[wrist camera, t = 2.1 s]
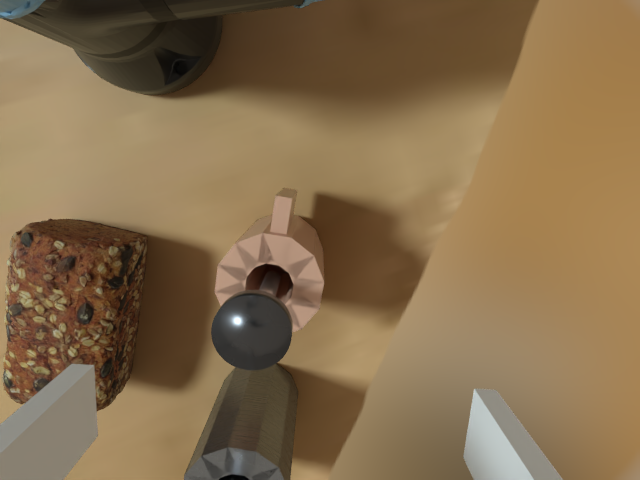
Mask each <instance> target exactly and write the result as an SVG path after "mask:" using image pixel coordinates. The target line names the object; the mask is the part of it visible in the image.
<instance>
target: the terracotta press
mask: <svg viewBox="0 0 640 480" xmlns="http://www.w3.org/2000/svg"><path fill="white" fill-rule="evenodd" d="M296 195H297V190H295V189H289V188H283V189H282V190H281V191H280V192H279V193H278V194H277V195H276V196H275V202H274V209H273V214H272V215H269V216H266V217H264V218H261V219H258V220H256V221H255V223H254V224H253V225H252V226H251V227H250V228H249V229H248V230H247V231H246V232H245V233H244V234H243V235H242V236H241V237H240V238H239V239H238V240H237V242H236V243H235V244H234V245H233V247H232V248H231V249H230V250H229V252H228V253H227V254H226V255H225V257H224V258H223V259H222V260H221V262H220V263H219V264H218V268H217V276H216V285H215V291H214V292H215V294H216V296H217V298H218V301H219V303H220V305H221V306H222V305H223V303H224V302H225V301H226V300H227V299H228V298H230V297H231V296H232V295H234V294H236V293H238V292H241V291H245V290H259V288H260V286H261V284H262V282H263V279H264V277H265V275H266V273H267V272H269V271H276V272H278V273H279V275H280V282H279V285H278V288H277V292H276V295H275V296H276V297H277V298H279V299H280V300H281V301H282V302H283V303H284V304H285V306H286V307H287V309H288V310H289V312H290V315H291V318H292V323H293V329H292V332H294V331H297V330H300V329H302V328H303V327H304V326H305V325H306V323H307V322H308V321H309V320H310V319H311V318H312V317H313V315H314V314H315V313H316V312H317V311H318V310H319V309H320V303H321V297H322V292H323V286H324V256H323V248H322V245H321V242H320V240H319V237H318V234H317V232H316V229H314V228H313V227H312V226H311V225H309V224H308V223H307V222H306V221H304V220H303V219H302V218H301V217H300V216H296V215H293V214H294V208H295V202H296Z"/></svg>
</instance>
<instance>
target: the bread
mask: <svg viewBox="0 0 640 480" xmlns="http://www.w3.org/2000/svg"><path fill="white" fill-rule="evenodd" d="M147 241H148V240H147V236H144V235H140V234H138V233H134V232H131V231H128V230H121V229H118V228H114V227H109V226H104V225H102V224H98V223H93V222H87V221H81V220H73V219H58V220H52V219H49V220H48V221H41V222H35V223H29V224H27V225H25V227H23V228H22V229H21V230H20V231H18V232H16V233H15V234H14V235H13V236H12V238H11V241H10V251H11V256H10V258H9V259H8V260H7V265H8V272H9V273H8V276H7V282H6V292H5V294H6V299H5V302H6V304H7V307H6V309H5V310H6V312H7V313H6V315H5V317H4V320H5V325H6V329H7V337H8V340H7V351H6V353H5V355H4V359H3V363H4V370H5V371H4V374H3V377H2V380H3V386H4V391H5V393H6V394H7V395H8V396H9V397H10V398H11V399H13V400H14V401H15V402H17V403H20V404H23V403H26V402H27V401H28V400H30V399H31V398H32V397H33V396H34V395H36V394H37V393H38V392H39V391H40V390H41V389H43V388H44V387H45V386H46V385H47V384H48V383H50V382H51V381H52V380H53V379H54V378H56V377H57V376H58V375H59V374H60V373H61V372H63V371H64V370H65V369H66V368H67V367H69V366H70V365H71V364H84V365H94V371H95V390H96V410H97V411H98V410H101V409H104V408H105V407H107V406H108V405H110V404H111V403H112V402H113V401H114V399H115V398H116V396H117V395H118V394H119V393H120V392H121V391H122V390H123V388H124V386H125V384H126V382H127V381H128V379H129V378H130V373H131V369H132V364H133V363H132V362H133V355H134V349H135V340H136V336H137V331H138V323H139V320H138V319H139V314H140V307H141V299H142V286H143V285H144V276H145V269H146V255H147Z"/></svg>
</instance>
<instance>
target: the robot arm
mask: <svg viewBox="0 0 640 480" xmlns="http://www.w3.org/2000/svg"><path fill="white" fill-rule="evenodd" d="M318 1H323V0H0V18H2V19H4V20H7V21H9V22H12V23H14V24H16V25H19V26H21V27H24V28H26V29H28V30H31V31H33V32H36V33H38V34H40V35H43V36H45V37H48V38H50V39H52V40H55V41H57V42H60V43H62V44H64V45H67V46H69V47H71V48H73V49H74V51H75V52H76V54H77V55H78V56H79V58H80V59H81V60H82V61H83V62H84V63H85V65H86V66H87V67H89V68H90V69H91V70H92V71H93V72H94V73H96V74H97V75H98V76H100V77H101V78H103V79H104V80H106V81H107V82H109V83H111V84H113V85H115V86H118V87H120V88H123V89H126V90H129V91H132V92H136V93H140V94H148V95H159V94H166V93H170V92H174V91H177V90H179V89H182V88H184V87H185V86H187V85H189V84H190V83H192V82H193V81H194V80H196V79H197V78H198V77H199V76H200V75H201V74H202V73H203V72H204V71H205V70H206V68H207V67H208V66H209V64H210V63H211V61H212V59H213V57H214V55H215V53H216V51H217V48H218V45H219V42H220V37H221V32H222V15H226V14H234V13H241V12H249V11H257V10H265V9H272V8H280V7H288V6H294V7H295V8H303V7H304V6H308V5H309V4H310V3H312V2H318ZM97 436H98V430H97V410H96V390H95V371H94V365H84V364H71V365H70V366H69V367H67V368H66V369H65V370H64V371H63V372H61V373H60V374H59V375H58V376H57V377H56V378H54V379H53V380H52V381H51V382H50V383H48V384H47V385H46V386H45V387H44V388H43V389H41V390H40V391H39V392H38V393H37V394H36V395H34V396H33V397H32V398H31V399H30V400H28V401H27V402H26V403H25V404H24V405H23V406H21V407H20V408H19V409H18V410H17V411H16V412H14V413H13V414H12V415H11V416H10V417H8V418H7V419H6V420H5V421H4V422H3V423H1V424H0V480H63V479H64V478H65V477H66V476H67V474H68V473H69V472H70V470H71V469H72V468H73V467H74V465H75V464H76V463H77V462H78V460H79V459H80V458H81V456H82V455H83V454H84V453H85V451H86V450H87V449H88V448H89V446H90V445H91V444H92V442H93V441H94V440H95V439H96V437H97ZM463 458H464V460H465V462H466V464H467V466H468V469H469V471H470V473H471V475H472V477H473V479H474V480H563V479H562V478H561V476H560V475H559V474H558V472H557V471H556V470H555V468H554V467H553V466H552V464H551V463H550V462H549V460H548V459H547V457H546V456H545V455H544V453H543V452H542V451H541V449H540V448H539V447H538V446H537V444H536V443H535V441H534V440H533V439H532V438H531V436H530V435H529V433H528V432H527V431H526V429H525V428H524V427H523V425H522V424H521V423H520V421H519V420H518V419H517V417H516V416H515V414H514V413H513V412H512V411H511V409H510V408H509V407H508V405H507V404H506V403H505V401H504V400H503V398H502V397H501V396H500V394H499V393H498V392H497V390H489V389H474V394H473V401H472V407H471V412H470V419H469V425H468V431H467V438H466V443H465V449H464V456H463Z"/></svg>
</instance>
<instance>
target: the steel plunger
mask: <svg viewBox="0 0 640 480" xmlns="http://www.w3.org/2000/svg"><path fill="white" fill-rule="evenodd" d="M231 480H247V477H245V476H243V475H236V474H232V477H231Z"/></svg>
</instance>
